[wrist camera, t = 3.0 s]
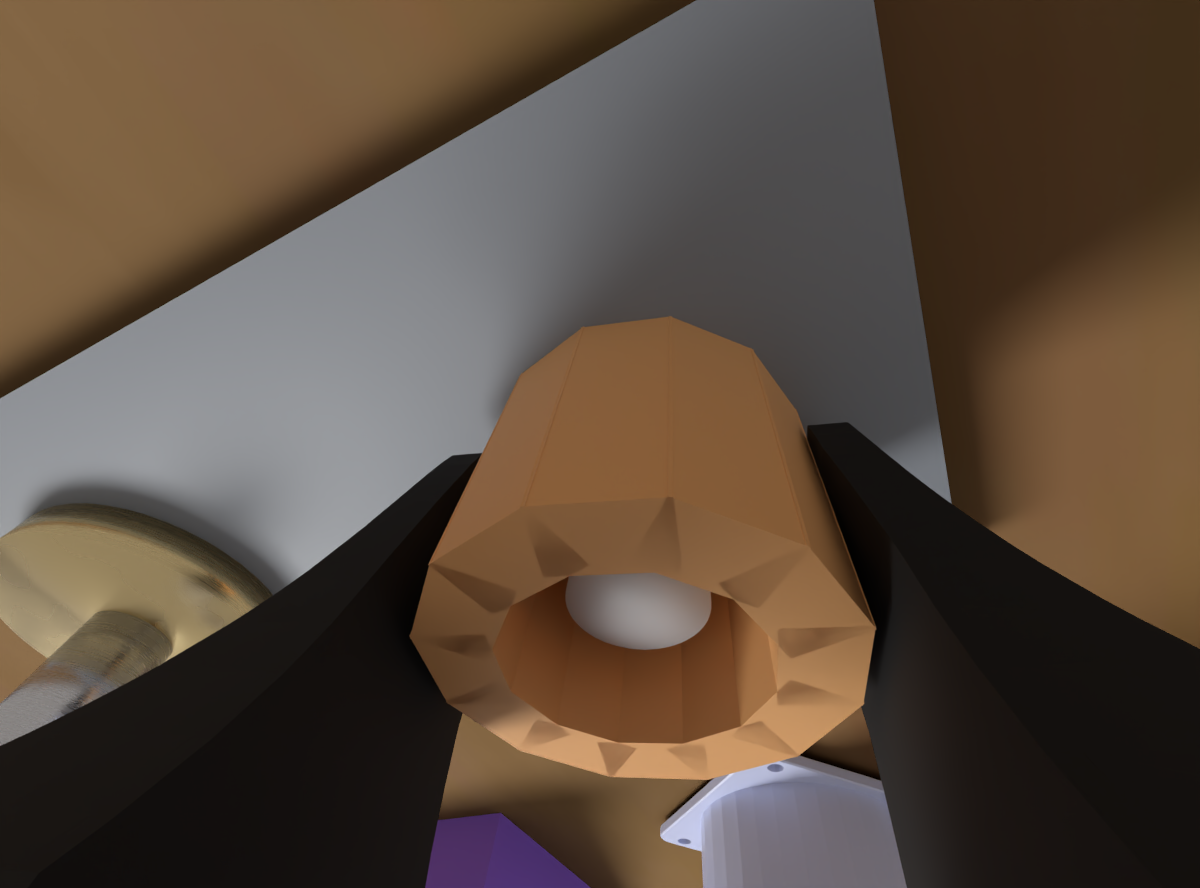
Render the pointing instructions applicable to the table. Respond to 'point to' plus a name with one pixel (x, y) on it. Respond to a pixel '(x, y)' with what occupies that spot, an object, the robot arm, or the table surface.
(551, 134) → the board
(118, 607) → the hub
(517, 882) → the bracket
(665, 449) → the sleeve
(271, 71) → the table surface
